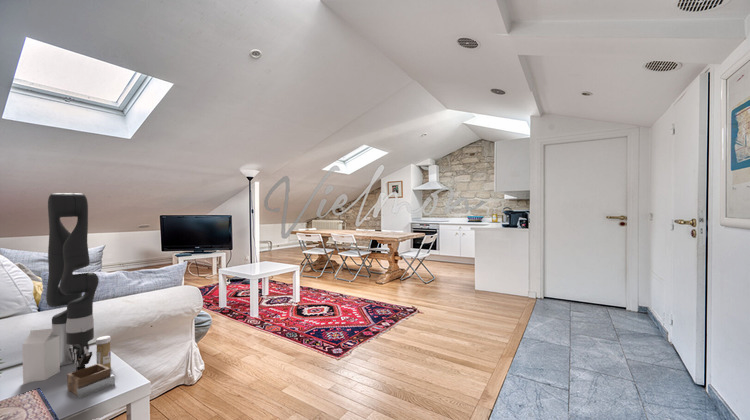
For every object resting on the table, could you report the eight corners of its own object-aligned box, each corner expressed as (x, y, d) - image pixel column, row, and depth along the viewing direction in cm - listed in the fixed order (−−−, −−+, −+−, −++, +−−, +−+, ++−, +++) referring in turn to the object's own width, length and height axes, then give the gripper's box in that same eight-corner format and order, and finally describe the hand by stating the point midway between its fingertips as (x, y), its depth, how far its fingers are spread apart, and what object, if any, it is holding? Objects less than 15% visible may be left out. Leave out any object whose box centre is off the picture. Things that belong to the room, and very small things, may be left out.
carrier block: (67, 389, 115) (67, 374, 115) (98, 378, 123) (98, 363, 123) (78, 396, 111) (78, 380, 111) (110, 383, 118) (110, 368, 118)
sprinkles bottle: (110, 372, 130) (109, 338, 130) (95, 375, 127) (94, 340, 127) (111, 367, 134) (111, 334, 134) (97, 370, 131) (96, 336, 131)
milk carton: (45, 383, 122) (44, 332, 122) (22, 385, 121) (22, 333, 121) (60, 373, 129) (59, 325, 129) (39, 375, 128) (38, 326, 128)
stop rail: (76, 397, 110) (76, 387, 110) (112, 383, 119) (112, 374, 119) (79, 399, 109) (79, 389, 109) (114, 385, 118) (114, 375, 118)
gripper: (59, 328, 120) (59, 375, 120) (74, 335, 113) (75, 384, 114) (84, 322, 126) (85, 366, 127) (101, 328, 120) (101, 375, 120)
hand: (80, 375), depth 120 cm, fingers closed
